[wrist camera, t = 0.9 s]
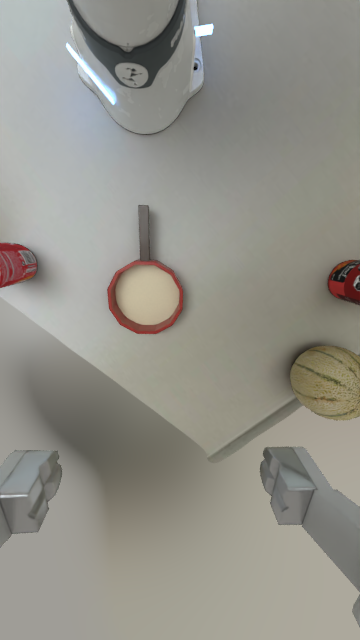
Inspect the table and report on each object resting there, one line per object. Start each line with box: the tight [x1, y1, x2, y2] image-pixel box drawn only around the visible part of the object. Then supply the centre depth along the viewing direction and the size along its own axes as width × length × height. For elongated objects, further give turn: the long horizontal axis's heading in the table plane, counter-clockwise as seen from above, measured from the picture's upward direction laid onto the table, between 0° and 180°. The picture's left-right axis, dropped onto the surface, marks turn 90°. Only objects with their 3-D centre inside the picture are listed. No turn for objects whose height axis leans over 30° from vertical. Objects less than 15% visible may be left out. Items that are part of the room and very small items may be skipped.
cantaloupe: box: [290, 346, 360, 420], centre depth 45 cm, size 15×15×15 cm
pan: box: [107, 205, 183, 334], centre depth 41 cm, size 23×14×4 cm, turn 178°
